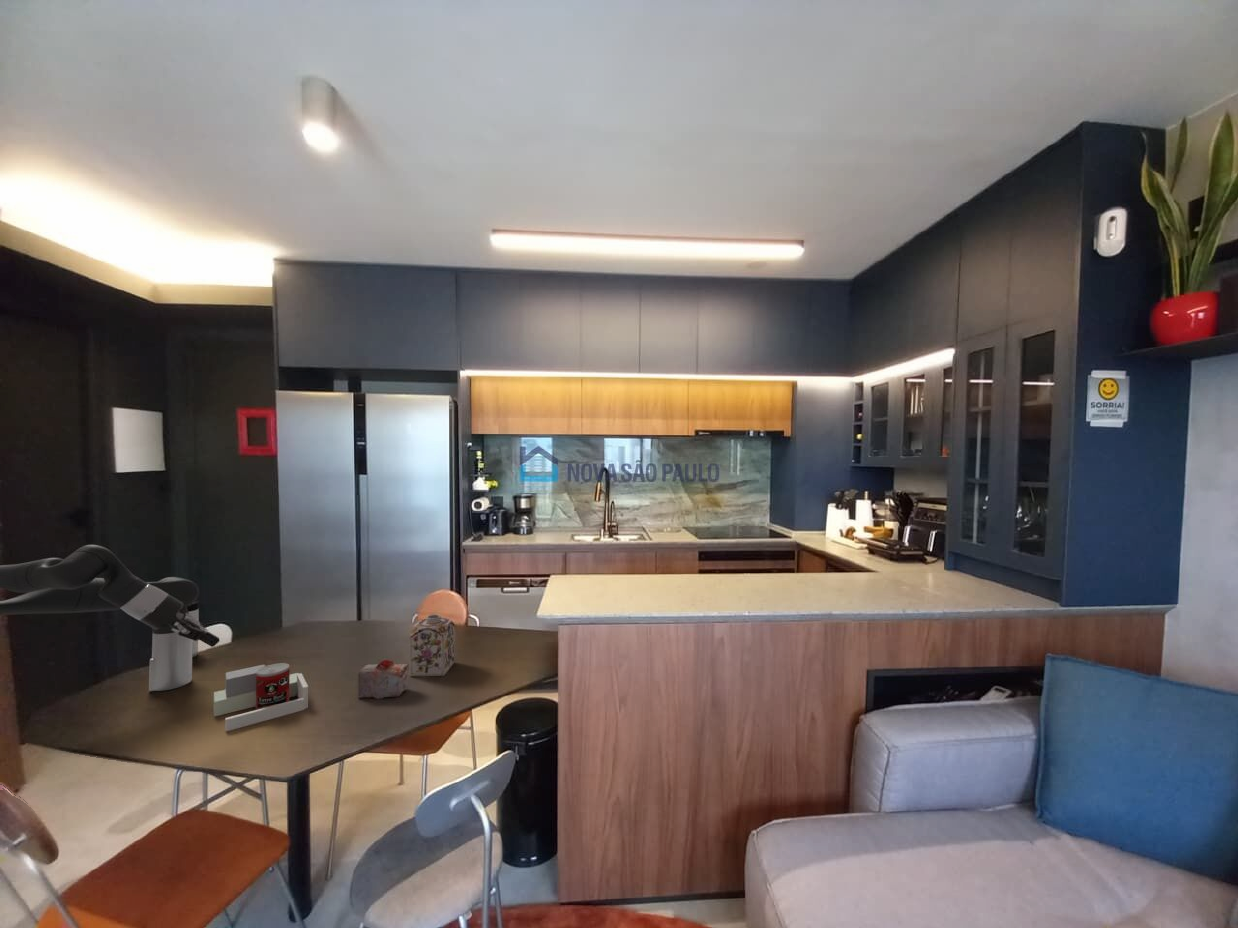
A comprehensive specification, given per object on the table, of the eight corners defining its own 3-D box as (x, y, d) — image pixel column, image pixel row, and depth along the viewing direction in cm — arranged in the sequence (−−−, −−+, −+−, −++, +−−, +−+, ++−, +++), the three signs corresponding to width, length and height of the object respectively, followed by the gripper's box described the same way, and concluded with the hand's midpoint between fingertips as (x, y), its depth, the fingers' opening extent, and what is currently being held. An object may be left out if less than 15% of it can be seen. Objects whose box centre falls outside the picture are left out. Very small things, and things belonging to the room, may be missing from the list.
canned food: (253, 717, 129) (254, 676, 129) (258, 704, 136) (258, 666, 136) (287, 710, 133) (288, 670, 133) (290, 698, 140) (290, 660, 140)
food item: (412, 687, 147) (412, 655, 148) (402, 699, 140) (402, 665, 140) (366, 689, 146) (366, 656, 146) (354, 701, 138) (354, 667, 139)
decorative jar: (456, 662, 167) (456, 610, 167) (445, 676, 155) (445, 621, 156) (421, 662, 166) (422, 611, 167) (407, 677, 155) (408, 621, 155)
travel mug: (195, 651, 176) (196, 597, 176) (199, 656, 172) (200, 600, 172) (172, 656, 171) (173, 601, 172) (176, 661, 167) (177, 604, 167)
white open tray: (215, 734, 121) (215, 698, 121) (213, 706, 135) (214, 674, 135) (308, 708, 134) (308, 676, 134) (297, 685, 148) (298, 656, 148)
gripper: (140, 612, 122) (203, 648, 130) (134, 625, 112) (203, 663, 120) (168, 588, 126) (228, 624, 134) (165, 598, 116) (230, 637, 124)
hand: (216, 642), depth 127 cm, fingers closed
